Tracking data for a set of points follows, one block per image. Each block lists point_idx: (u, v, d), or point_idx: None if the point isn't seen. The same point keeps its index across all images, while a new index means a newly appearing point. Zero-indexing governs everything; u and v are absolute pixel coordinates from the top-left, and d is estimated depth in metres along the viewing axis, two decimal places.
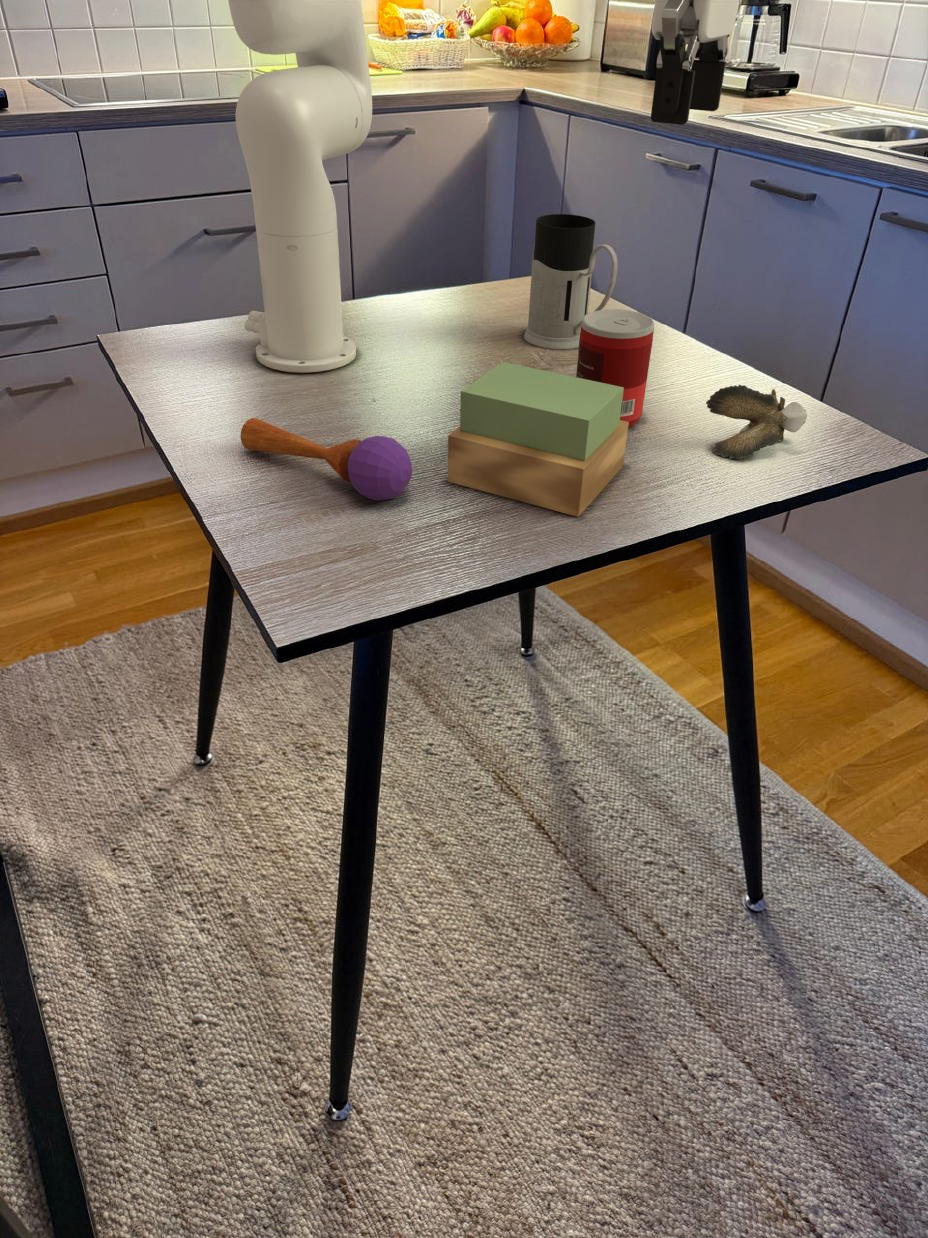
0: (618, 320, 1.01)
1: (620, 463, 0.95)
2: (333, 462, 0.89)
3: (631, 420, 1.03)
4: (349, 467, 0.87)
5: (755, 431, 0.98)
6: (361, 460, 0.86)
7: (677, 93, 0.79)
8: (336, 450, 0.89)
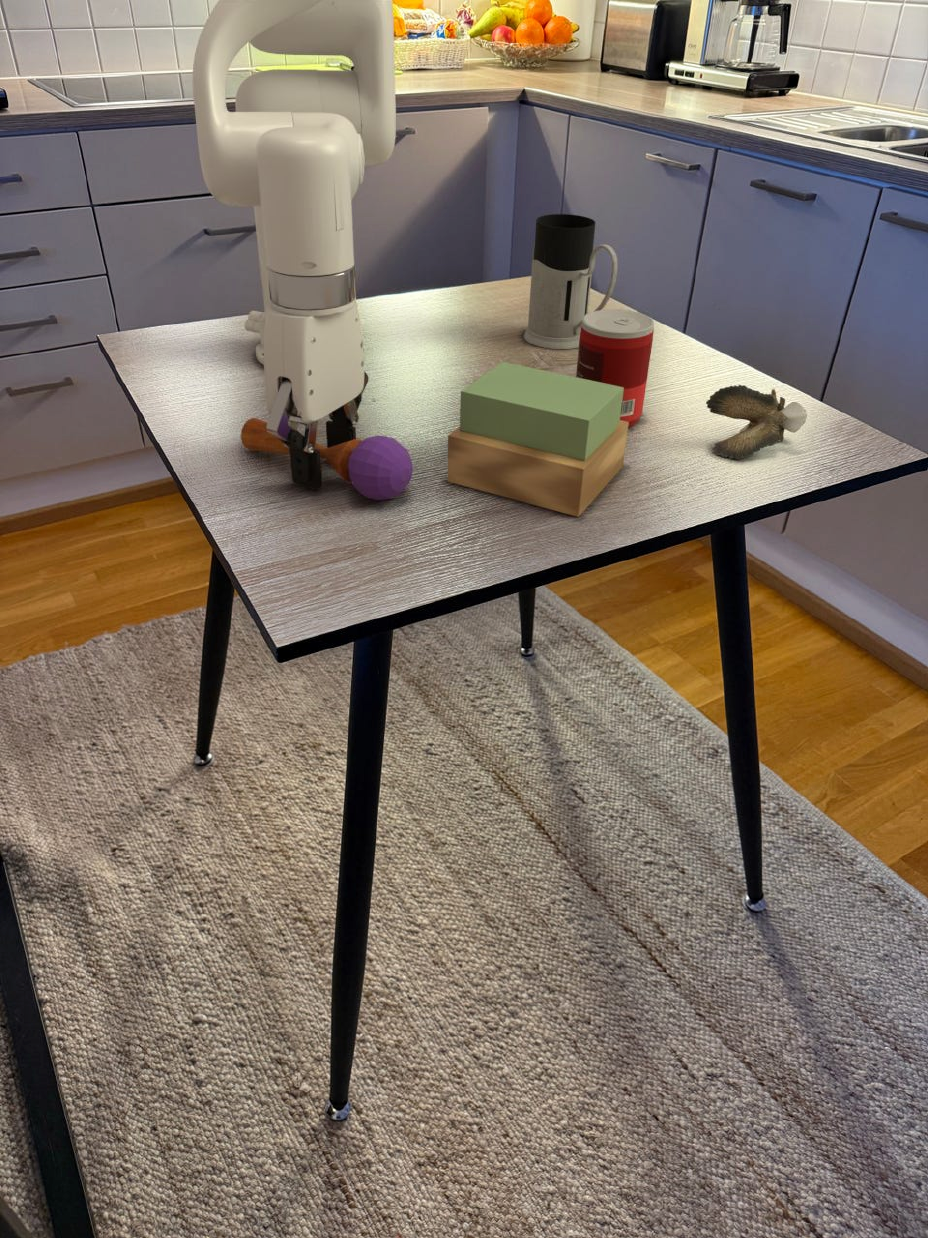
0: (618, 320, 1.01)
1: (620, 463, 0.95)
2: (333, 462, 0.89)
3: (631, 420, 1.03)
4: (350, 467, 0.87)
5: (755, 431, 0.98)
6: (361, 460, 0.86)
7: (305, 468, 0.88)
8: (337, 450, 0.89)
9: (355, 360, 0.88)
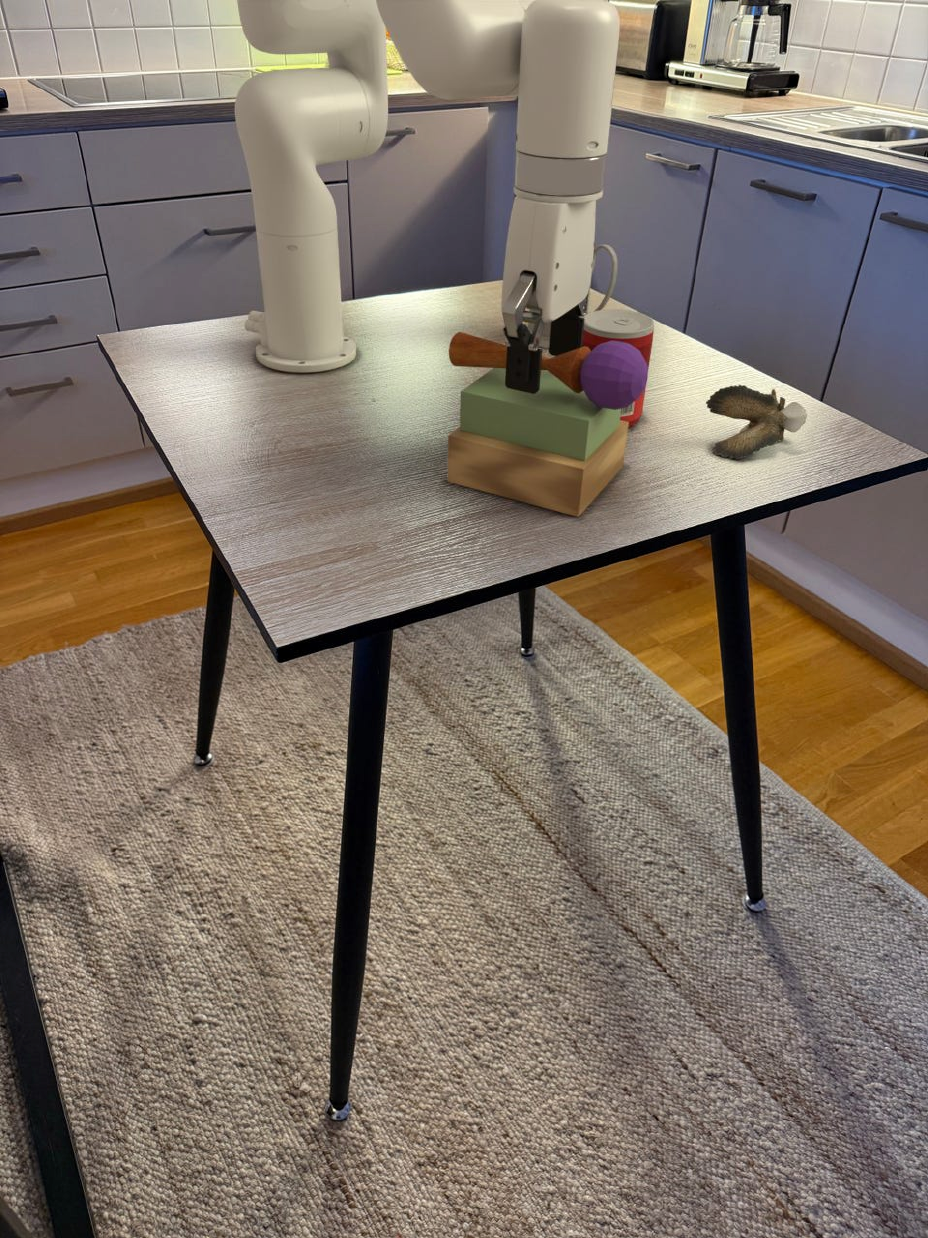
0: (618, 320, 1.01)
1: (620, 463, 0.95)
2: (562, 370, 0.85)
3: (631, 420, 1.03)
4: (585, 373, 0.83)
5: (755, 431, 0.98)
6: (602, 365, 0.82)
7: (526, 369, 0.82)
8: (566, 357, 0.85)
9: (588, 259, 0.84)
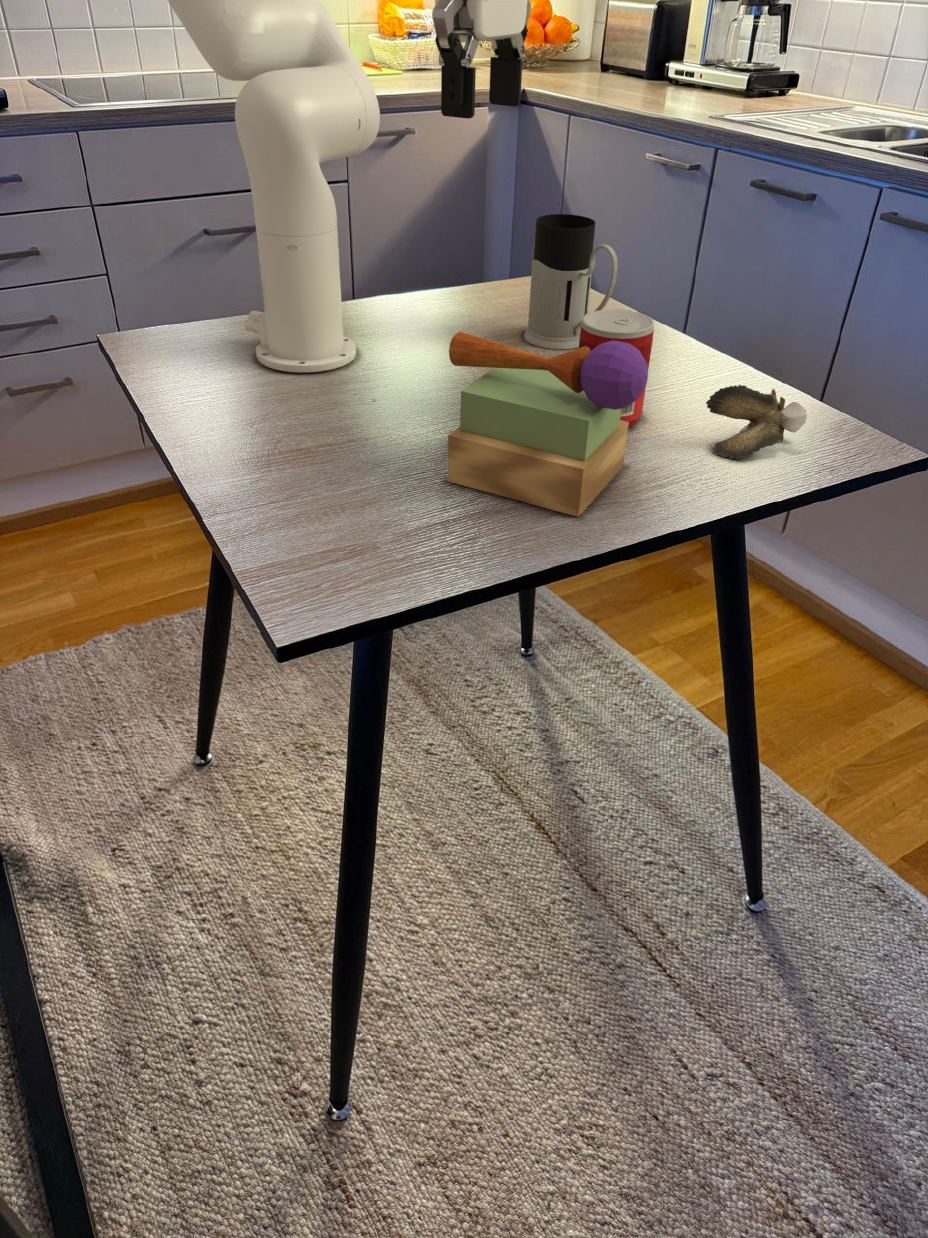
0: (618, 320, 1.01)
1: (620, 463, 0.95)
2: (562, 370, 0.85)
3: (631, 420, 1.03)
4: (586, 373, 0.83)
5: (755, 431, 0.98)
6: (602, 365, 0.82)
7: (460, 89, 0.84)
8: (567, 357, 0.85)
9: None
